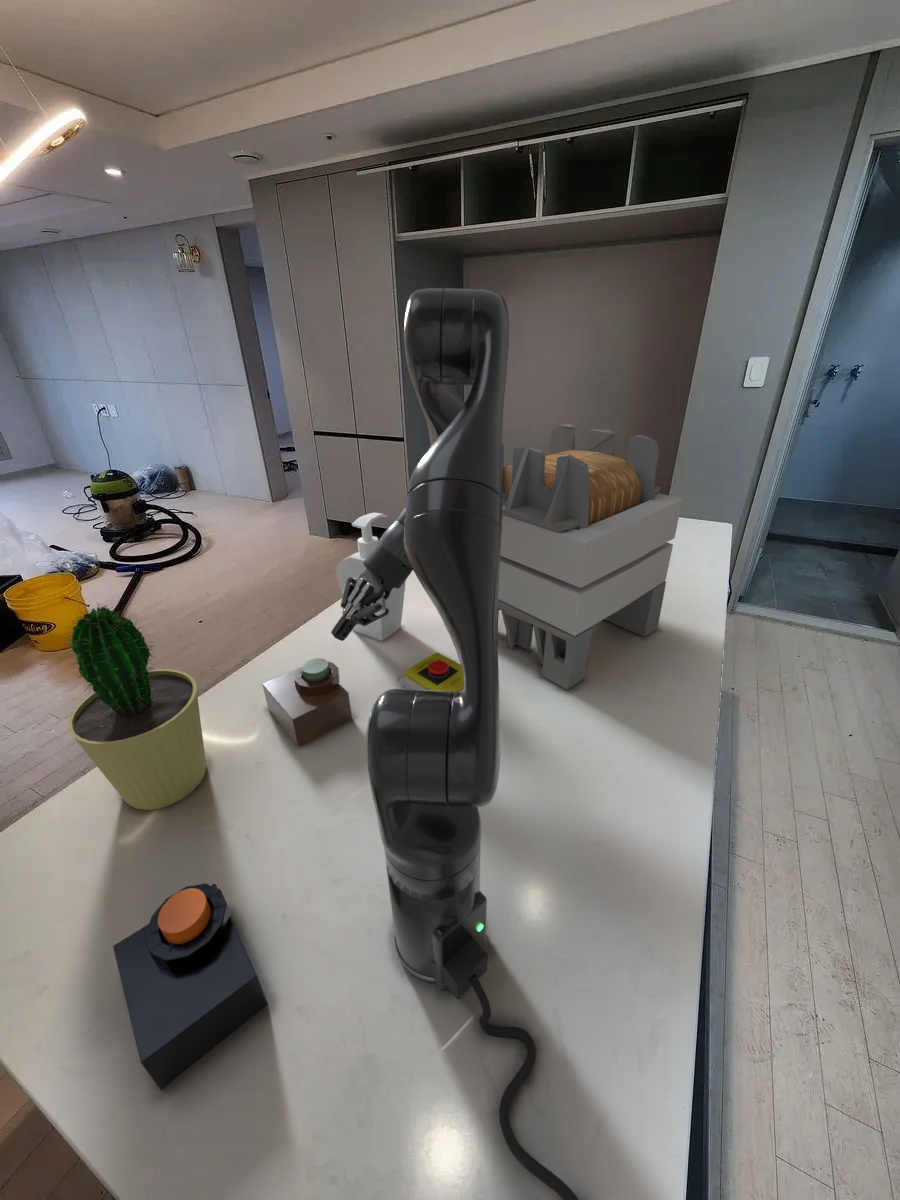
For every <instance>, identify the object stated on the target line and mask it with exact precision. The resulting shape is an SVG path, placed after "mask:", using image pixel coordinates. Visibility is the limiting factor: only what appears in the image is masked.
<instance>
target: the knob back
mask: <svg viewBox="0 0 900 1200" xmlns="http://www.w3.org/2000/svg"><path fill="white" fill-rule="evenodd" d="M328 662H329V661H328V660H326V659H325V658H322V657H315V658H311V659H309V660H306V661H305V662H304V663H303V664H302V665H301V667H302V672H303V677H304V680H305V681H306V682H310V683H316V682H321V681H323V680H325V679H327V678H328V677H329V675H330V670H329V664H328Z"/></svg>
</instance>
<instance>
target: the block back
mask: <svg viewBox="0 0 900 1200" xmlns="http://www.w3.org/2000/svg"><path fill="white" fill-rule="evenodd" d="M327 662H328V664H329V670H330V675H329V677H328V678H327V679H325V680H323V681H321V682H316V683H310V682H306V681H305V680H304V677H303V672H302V666H300V667H298V668H295V669H293V670H291V671H288V672H286V673H284V674H281V675H279V676H277V677H275V678H272V679H270V680H268V681H265V682H262V689H263V693H264V697H265V701H266V705H267V709H268V711H269V712H270V713H271V714H272V716H273V717H274V718H275V719H276V721H277V722H278V723H279V724H280V725H281V727H282V728H283V729H284V730H285V732H286V733H287V734H288V736H289V737H290V738H291V739H292V740H293V742H294V743H295V744H296V745H297V747H300V746H301V745H304V744H305V743H308V742H309V741H311V740H313V739H315V738H317V737H320V736H321V735H323V734H325V733H327V732H329V731H331V730H333V729H334V728H337V727H338V726H340V725H342V724H344V723H346V722H348V721H350V720H352V719H353V715H352V708H351V701H350V695H349V691H347V690H346V689H345V688H344V687H343V686H342V685H341V684H340V678H341V677H340V676H341V675H340V669H339V667H338V665H336V664H335V663H334V662H331V661H327Z"/></svg>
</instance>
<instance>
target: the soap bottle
mask: <svg viewBox="0 0 900 1200" xmlns="http://www.w3.org/2000/svg"><path fill="white" fill-rule="evenodd" d="M379 518H388V514H385V513H381V512H370V513H366V514H364V515H361V516H360V517H358V518H356V519H355V520H354V521H353V522H352V523H351V526H352V527H354V528H358V529H361V537H359V538H358V539H357V548H358V552H355V553H353V554H351V555H349V556H347V557H346V558H343V559H342V560H341V561H340V562H339V563H338V564H337V566H336V569H335V576H336V579H337V583H338V586H339V590H340V592H341V596H342V597H343V594H344V590H345V586H346V582H347V579H348V578H349V577H352V578H354V579H356V578H359V576H360V574H361V573H363V572H364V571H365V570H366V569H367V568H366V567H365V566H364V564H363V562H364V560H365V559H366V558H367V556H368V555H369V553H370V552H371V551H372V549H373V548H374V546H375V545H376V544H377V542H378V541H379V538H378V536H375V535H373V529H372V522H374V521H375V520H377V519H379ZM406 581H407V579H406V580H405V582H404V583H403V585H402V586H401V587H400V588H398V589H397V588H393V589H392V591H391V593H390V595H389V598H388V599H387V600H385V607H386V608H387V609H389V613H388V614H387V615H386V616H384V617H382V618H380V619H378V620H376V621H374V622H372V623H370V624H368V625H366V626H362V625H360V624H359V625H355V627H354V628H353V629H352V631H354V632H355V633H359V634H361V635H364V636H367V637H370V638H372V639H374V640H378V641H379V642H383V641H384V640H386V639H387V638H388V637H390V636H391V635H393V634H394V633H395V632H396V631H398V630H400V629H401V627H402V621H403V611H404V600H405V592H406ZM365 618H366V617H365Z"/></svg>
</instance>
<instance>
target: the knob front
mask: <svg viewBox="0 0 900 1200" xmlns="http://www.w3.org/2000/svg"><path fill="white" fill-rule="evenodd" d="M181 890H182V889H181ZM179 891H180V890H179ZM177 892H178V891H177ZM177 892H175V893H176V894H175V893H174V894H175V895H173V894H172V895H173V896H172V895H171V896H172V897H171V898H170V899H168V900H167V902H166V903H165V904H164V905H163V907H162V908H161V910H160V913H159V916H158V926H159V928H160V930H161V932H162V934H163V935H164V937H165V939H166V940H167V941H168V942H169V943H171V944H176V945H179V944H184V943H187V942H189V941H191V940H193V939H195V938H196V937H197V936H199V935H200V934H201V933H202V932H203V930H204V929H205V928H206V926H207V925H208V923H209V920H210V917H211V908H210V906H209V903H208V901H207V899H206V896H205V894H204V893H203V892H202V891H201V890H198V889H194V888H191V889H185V890H182V891H180V892H178V893H177Z"/></svg>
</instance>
